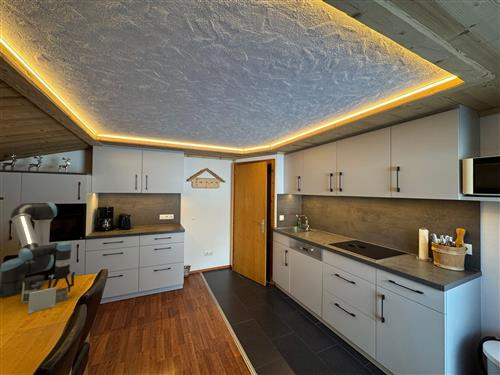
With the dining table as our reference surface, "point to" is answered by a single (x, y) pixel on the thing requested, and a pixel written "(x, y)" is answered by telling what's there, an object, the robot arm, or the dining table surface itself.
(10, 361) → the dining table surface
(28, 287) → the coffee can
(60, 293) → the brown cube
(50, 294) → the screen
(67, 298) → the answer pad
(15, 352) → the dining table surface
